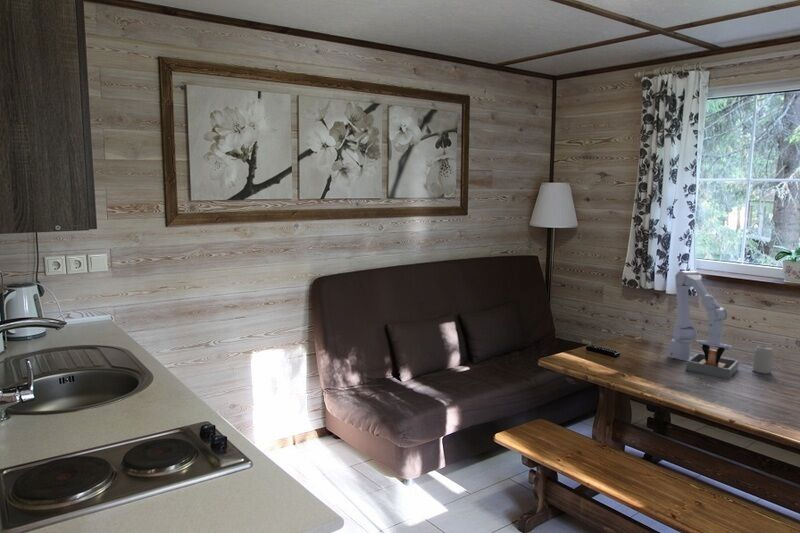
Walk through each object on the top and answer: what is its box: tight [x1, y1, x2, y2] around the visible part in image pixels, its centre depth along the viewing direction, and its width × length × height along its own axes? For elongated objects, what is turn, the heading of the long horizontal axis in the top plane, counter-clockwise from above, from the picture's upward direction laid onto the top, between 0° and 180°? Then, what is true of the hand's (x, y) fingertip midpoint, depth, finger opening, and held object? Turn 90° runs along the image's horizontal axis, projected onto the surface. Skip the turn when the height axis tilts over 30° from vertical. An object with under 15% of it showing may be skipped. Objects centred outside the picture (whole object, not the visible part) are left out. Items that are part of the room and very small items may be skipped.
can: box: [752, 345, 774, 375], centre depth 277 cm, size 8×8×12 cm
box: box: [686, 352, 740, 380], centre depth 278 cm, size 18×18×4 cm
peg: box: [707, 348, 717, 366], centre depth 276 cm, size 4×4×8 cm
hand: (711, 362), depth 277 cm, fingers closed on peg, 4 cm apart
